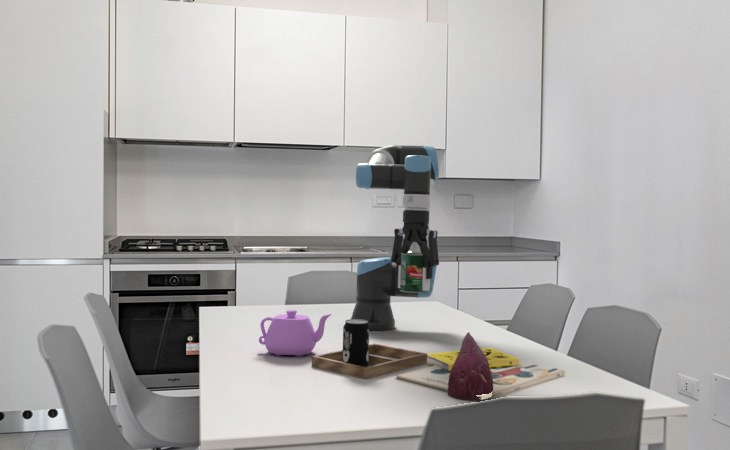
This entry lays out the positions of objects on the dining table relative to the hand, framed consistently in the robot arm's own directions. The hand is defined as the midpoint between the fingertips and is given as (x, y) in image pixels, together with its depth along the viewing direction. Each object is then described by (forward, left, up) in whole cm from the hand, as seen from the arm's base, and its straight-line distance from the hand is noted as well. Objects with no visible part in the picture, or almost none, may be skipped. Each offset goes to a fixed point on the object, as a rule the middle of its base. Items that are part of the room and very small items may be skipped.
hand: (413, 288), depth 205 cm
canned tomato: (0, 0, -1) cm, 1 cm away
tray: (+4, -24, -18) cm, 30 cm away
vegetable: (+38, -30, -18) cm, 51 cm away
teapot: (-19, -29, -18) cm, 39 cm away
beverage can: (+4, -30, -18) cm, 35 cm away
